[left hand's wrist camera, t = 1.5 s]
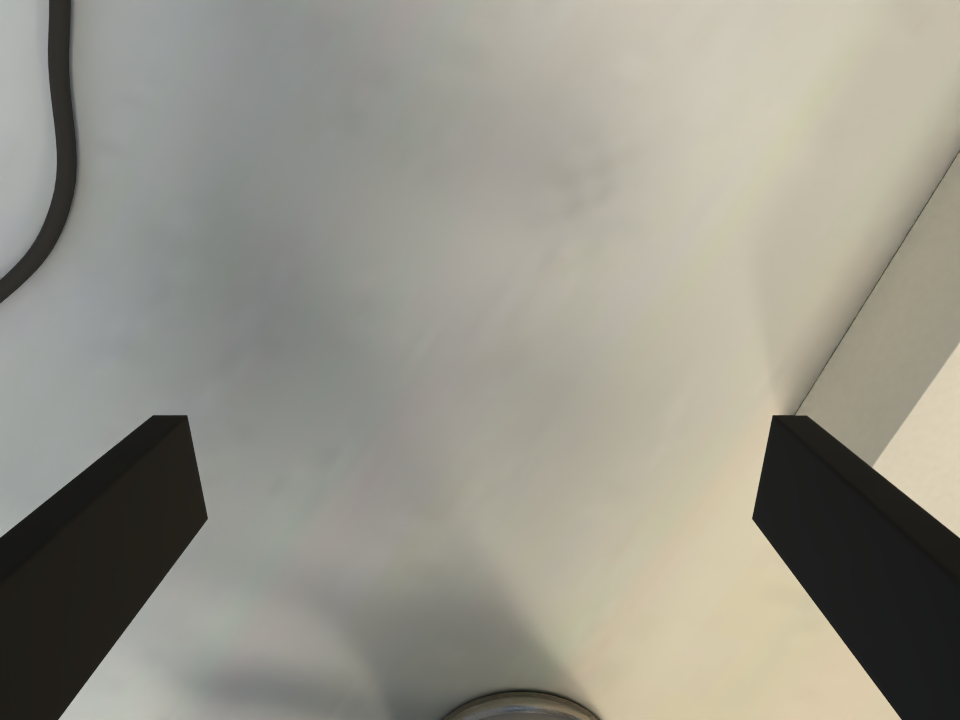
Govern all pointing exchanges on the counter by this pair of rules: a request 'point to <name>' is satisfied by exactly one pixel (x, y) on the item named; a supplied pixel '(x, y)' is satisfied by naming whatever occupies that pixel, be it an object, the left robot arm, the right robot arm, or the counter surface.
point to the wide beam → (906, 366)
